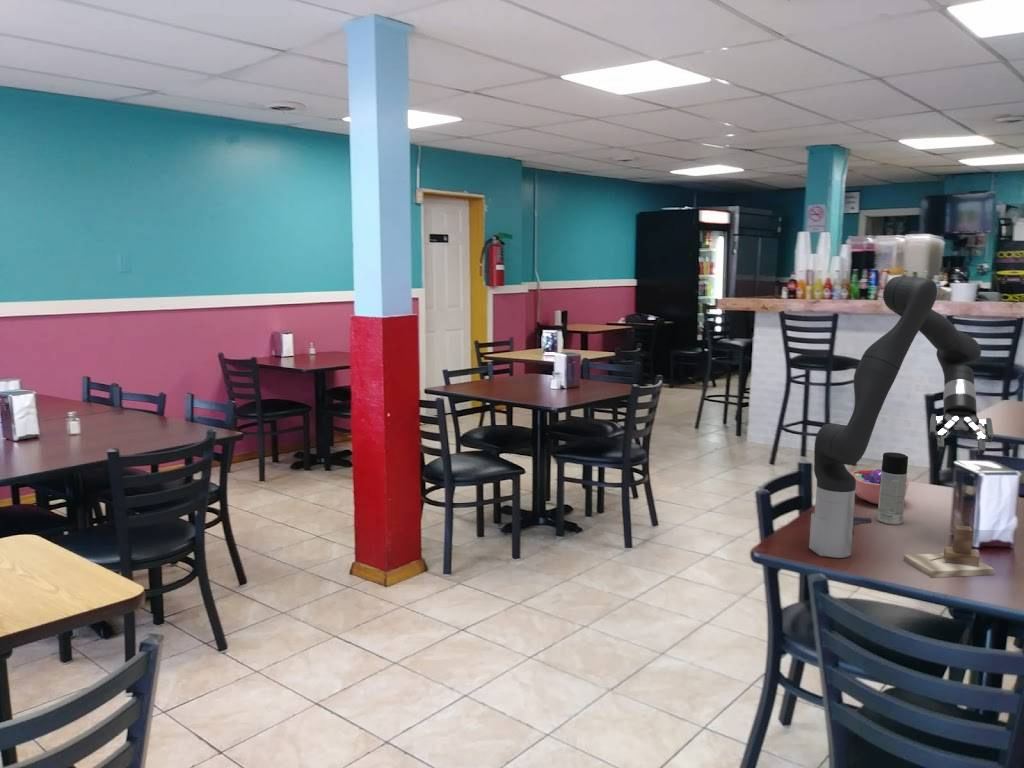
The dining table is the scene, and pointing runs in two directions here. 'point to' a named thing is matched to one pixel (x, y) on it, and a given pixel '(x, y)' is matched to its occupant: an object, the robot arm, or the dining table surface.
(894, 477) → the spray can
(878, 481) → the cell model
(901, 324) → the robot arm
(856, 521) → the bracket
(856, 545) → the dining table surface
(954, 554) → the brown wooden stepped block
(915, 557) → the board
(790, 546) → the dining table surface
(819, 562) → the dining table surface
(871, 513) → the dining table surface
